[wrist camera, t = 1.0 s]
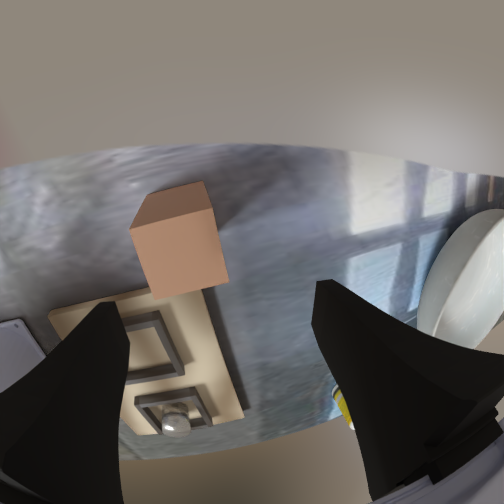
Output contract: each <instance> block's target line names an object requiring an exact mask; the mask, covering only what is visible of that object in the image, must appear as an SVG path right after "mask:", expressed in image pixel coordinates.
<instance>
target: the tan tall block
mask: <svg viewBox="0 0 504 504" xmlns="http://www.w3.org/2000/svg"><path fill="white" fill-rule="evenodd" d="M129 231H130V234H131V237H132V240H133V243H134V246H135V249H136V251H137V254H138V257H139V260H140V263H141V265H142V268H143V271H144V274H145V276H146V279H147V282H148V284H149V287H150V289H151V292H152V294H153V297H154V299H155V300H158V299H162V298H166V297H171V296H175V295H179V294H183V293H187V292H191V291H196V290H200V289H204V288H208V287H212V286H216V285H220V284H224V283H228V282H229V279H228V274H227V270H226V266H225V262H224V257H223V253H222V248H221V244H220V240H219V235H218V231H217V226H216V221H215V217H214V212H213V208H212V205H211V202H210V199H209V197H208V194H207V191H206V188H205V185H204V182H203V181H199V182H195V183H191V184H187V185H183V186H179V187H175V188H171V189H167V190H163V191H159V192H155V193H152V194H148V195H147V196H146V198H145V199H144V201H143V203H142V205H141V207H140V209H139V211H138V213H137V215H136V217H135V219H134V221H133V223H132V225H131V227H130V229H129Z"/></svg>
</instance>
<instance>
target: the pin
mask: <svg viewBox="0 0 504 504" xmlns="http://www.w3.org/2000/svg"><path fill="white" fill-rule="evenodd" d="M161 413H162V432H163V433H164V434H165V435H167V436H171V437H184V436H187V435H189V434H190V433H191V427H190V418H189V409H188V406H187V405H186V404H184V403H181V402H177V403H171V404H165V405H162V407H161Z"/></svg>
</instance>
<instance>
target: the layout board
mask: <svg viewBox="0 0 504 504" xmlns="http://www.w3.org/2000/svg"><path fill="white" fill-rule="evenodd" d="M108 301H115V302H116V305H117V308H118V311H119V314H120V317H121V319H122V322H123V325H124V327H125V330H126V333H127V335H128V338H129V340H130V357H129V368H128V373H127V378H126V383H125V389H124V394H123V400H122V405H121V411H120V417H121V418H122V419H123V420H124V421H125V422H126V423H127V424H128V425H129V426H130V428H131V429H132V430H133V431H134V432H135V433H136V434H137V435H148V434H157V433H158V434H159V435H161V434H164V433H163V432H162V413H161V407H162V405H165V404H171V403H177V402H181V403H184V404H186V405H187V406H188V409H189V418H190V427H191V430H195V429H201V428H206V427H211V426H213V425H214V424H219V423H223V422H228V421H232V420H237V419H241V418H245V417H244V413H243V410H242V407H241V404H240V402H239V399H238V396H237V394H236V391H235V388H234V385H233V383H232V380H231V377H230V374H229V371H228V369H227V366H226V363H225V360H224V357H223V354H222V351H221V348H220V345H219V342H218V339H217V336H216V333H215V330H214V327H213V324H212V321H211V317H210V314H209V311H208V308H207V305H206V301H205V298H204V295H203V291H202V289H200V290H196V291H191V292H187V293H183V294H179V295H175V296H171V297H166V298H162V299H158V300H155V299H154V297H153V294H152V292H151V289H150V287H147V288H143V289H139V290H135V291H130V292H126V293H122V294H118V295H114V296H109V297H105V298H101V299H97V300H92V301H88V302H84V303H80V304H75V305H71V306H67V307H62V308H58V309H54V310H51V311H50V313H49V315H48V316H47V317H48V319H49V320H50V322H51V324H52V326H53V327H54V329H55V330H56V332H57V334H58V335H59V337H60V338H61V340H63V339H64V338H65V337H66V336H67V335H68V334H69V333H70V332H71V331H72V330H73V329H74V328H75V327H76V326H77V325H78V324H79V323H80V322H81V320H82V319H83V318H84V317H85V316H86V315H87V314H88V313H89V312H90V311H91V310H92V309H93V308H94V307H95V306H96V305H97V304H98V303H100V302H108Z"/></svg>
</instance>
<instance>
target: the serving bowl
mask: <svg viewBox="0 0 504 504" xmlns="http://www.w3.org/2000/svg"><path fill="white" fill-rule="evenodd" d="M503 311H504V209H490V210H486V211H482V212H480V213H478V214H476V215H474V216H472V217H471V218H469V219H468V220H466V221H465V222H464V223H463V224H462V225H461V226H460V227H459V228H458V229H457V230H456V231H455V232H454V233H453V234H452V235H451V237H450V238H449V239H448V241H447V242H446V243H445V245H444V246H443V248H442V249H441V251H440V253H439V254H438V256H437V258H436V260H435V261H434V263H433V265H432V267H431V269H430V271H429V274H428V276H427V279H426V281H425V284H424V287H423V290H422V293H421V296H420V301H419V305H418V312H417V330H419V331H421V332H424V333H426V334H428V335H431V336H433V337H436V338H438V339H441V340H444V341H447V342H449V343H452V344H456V345H459V346H462V347H466V348H470V349H474V348H475V347H476V346H477V345H478V344H479V343H480V342H481V341H482V340H483V339H484V337H485V336H486V335H487V334H488V333H489V331H490V330H491V329H492V327H493V326H494V325H495V323H496V322H497V320H498V319H499V317H500V316H501V314H502V312H503Z"/></svg>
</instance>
